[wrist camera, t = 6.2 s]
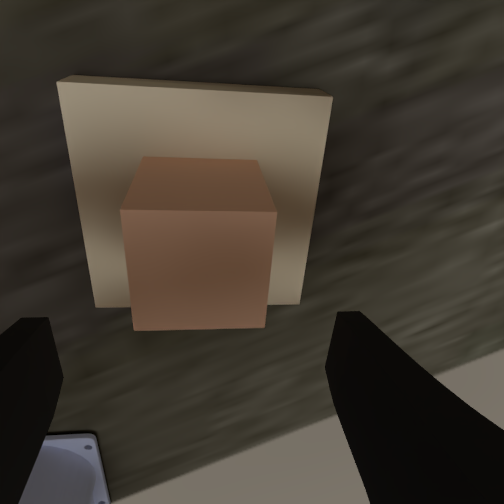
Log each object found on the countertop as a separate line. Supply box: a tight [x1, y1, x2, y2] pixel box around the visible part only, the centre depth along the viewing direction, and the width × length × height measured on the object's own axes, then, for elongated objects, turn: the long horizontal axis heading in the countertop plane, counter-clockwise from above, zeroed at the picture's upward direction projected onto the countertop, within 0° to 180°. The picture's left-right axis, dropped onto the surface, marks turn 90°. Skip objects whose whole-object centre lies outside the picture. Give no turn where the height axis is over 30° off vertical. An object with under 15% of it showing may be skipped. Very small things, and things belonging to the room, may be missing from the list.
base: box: [57, 75, 333, 308], centre depth 18 cm, size 10×10×2 cm
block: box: [120, 156, 277, 331], centre depth 14 cm, size 4×4×5 cm
